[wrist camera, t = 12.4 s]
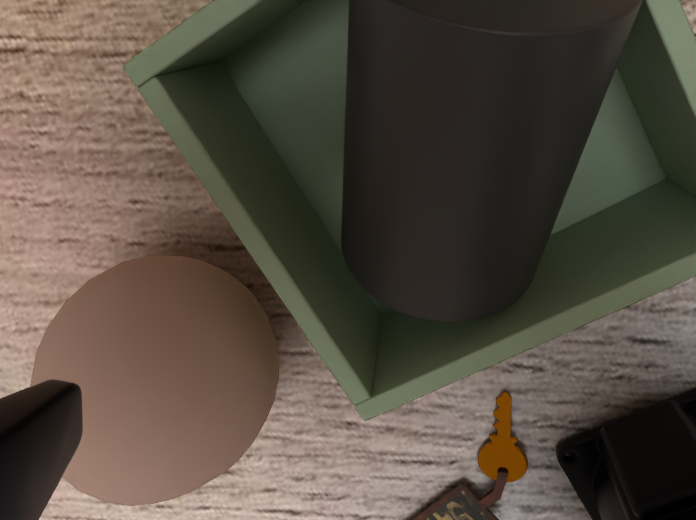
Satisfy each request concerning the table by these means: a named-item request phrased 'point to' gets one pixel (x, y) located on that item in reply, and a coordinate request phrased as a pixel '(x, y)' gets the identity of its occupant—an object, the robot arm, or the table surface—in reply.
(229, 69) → the open box
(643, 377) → the table surface
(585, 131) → the dark grey cylinder
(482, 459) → the key tag
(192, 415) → the egg
